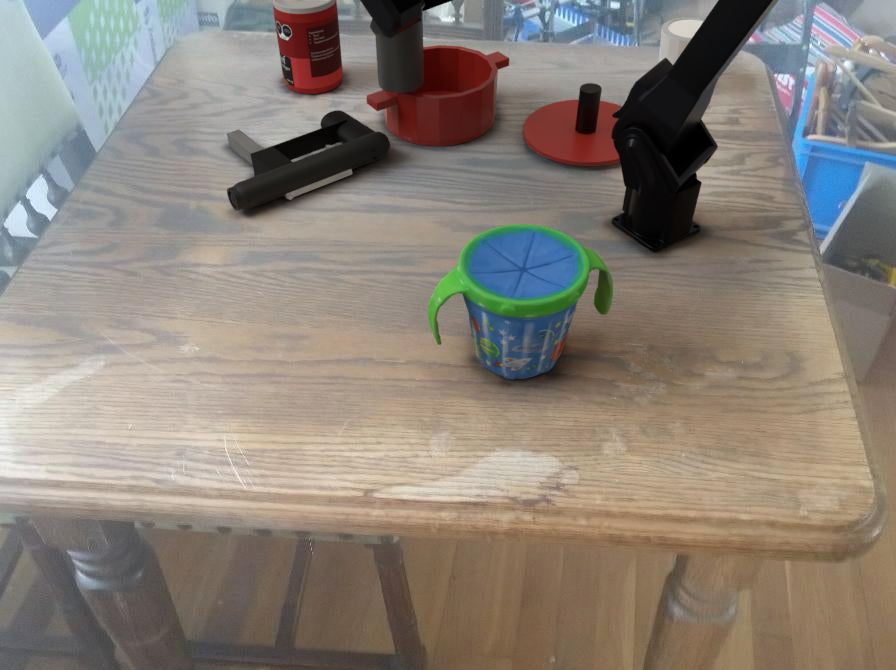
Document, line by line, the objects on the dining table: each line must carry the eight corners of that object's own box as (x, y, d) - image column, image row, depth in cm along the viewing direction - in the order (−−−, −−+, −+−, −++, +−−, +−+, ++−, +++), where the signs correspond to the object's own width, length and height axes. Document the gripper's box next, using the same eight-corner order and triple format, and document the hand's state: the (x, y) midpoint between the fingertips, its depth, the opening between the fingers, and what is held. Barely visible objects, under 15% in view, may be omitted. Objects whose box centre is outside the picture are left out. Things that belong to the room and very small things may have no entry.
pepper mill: (420, 94, 96) (416, -46, 86) (374, 92, 97) (365, -46, 86) (427, 72, 99) (424, -64, 89) (383, 71, 100) (375, -64, 90)
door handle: (179, 143, 100) (239, 197, 90) (327, 91, 107) (399, 136, 97) (186, 169, 102) (245, 225, 92) (331, 117, 109) (401, 163, 99)
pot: (534, 116, 105) (538, 68, 101) (404, 165, 99) (402, 116, 94) (470, 76, 113) (471, 30, 109) (346, 118, 107) (342, 72, 103)
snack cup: (436, 405, 73) (436, 312, 65) (421, 323, 80) (419, 232, 72) (619, 386, 73) (639, 292, 66) (588, 306, 80) (602, 214, 73)
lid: (674, 144, 99) (685, 93, 95) (576, 185, 94) (583, 133, 90) (591, 96, 108) (597, 47, 103) (497, 131, 103) (500, 82, 99)
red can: (290, 68, 117) (279, -17, 109) (348, 68, 116) (341, -17, 108) (277, 94, 112) (265, 8, 104) (338, 96, 111) (330, 8, 103)
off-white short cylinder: (665, 67, 112) (675, 12, 107) (716, 79, 109) (730, 23, 104) (642, 88, 108) (652, 32, 103) (695, 102, 105) (708, 45, 100)
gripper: (482, -175, 84) (398, -71, 97) (360, -123, 75) (285, -15, 88) (545, -74, 86) (455, 15, 99) (434, -11, 77) (351, 79, 90)
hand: (389, 21), depth 94 cm, fingers closed on pepper mill, 5 cm apart
